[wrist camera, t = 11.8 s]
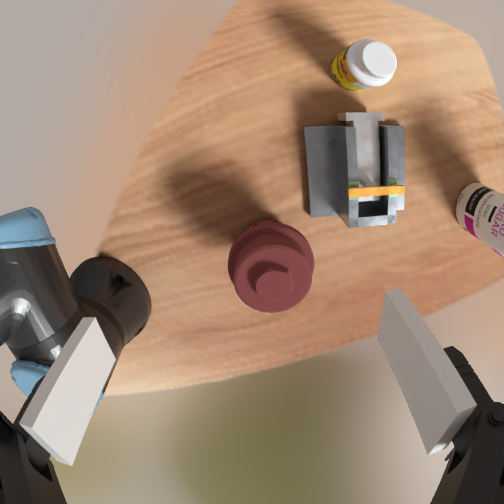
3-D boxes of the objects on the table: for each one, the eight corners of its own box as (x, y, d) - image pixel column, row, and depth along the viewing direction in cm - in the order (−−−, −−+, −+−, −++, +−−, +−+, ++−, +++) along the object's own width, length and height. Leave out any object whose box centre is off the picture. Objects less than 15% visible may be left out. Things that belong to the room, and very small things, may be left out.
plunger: (334, 195, 38) (349, 210, 32) (328, 112, 34) (344, 112, 28) (383, 192, 38) (404, 206, 32) (380, 113, 33) (403, 113, 27)
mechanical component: (267, 283, 45) (217, 240, 42) (317, 239, 42) (268, 190, 39) (271, 338, 34) (205, 287, 31) (340, 285, 31) (275, 220, 28)
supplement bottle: (331, 47, 30) (356, 27, 21) (370, 58, 31) (406, 44, 21) (326, 85, 33) (351, 75, 24) (366, 95, 33) (401, 91, 24)
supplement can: (483, 226, 41) (537, 265, 27) (450, 229, 41) (506, 273, 27) (488, 182, 37) (549, 211, 24) (455, 181, 38) (519, 213, 24)
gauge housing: (309, 215, 40) (318, 231, 35) (302, 126, 35) (312, 128, 30) (400, 207, 40) (420, 221, 34) (400, 125, 34) (423, 128, 29)
